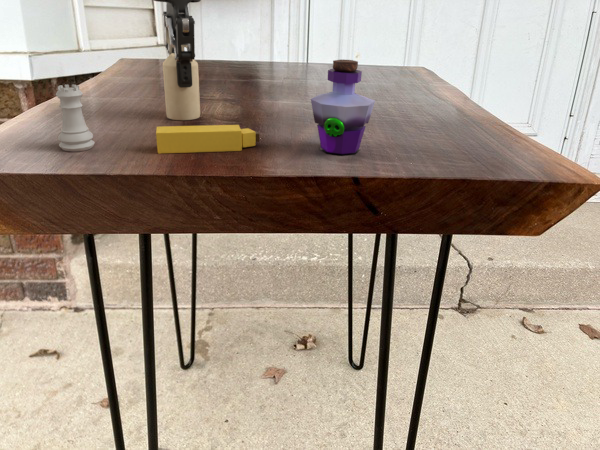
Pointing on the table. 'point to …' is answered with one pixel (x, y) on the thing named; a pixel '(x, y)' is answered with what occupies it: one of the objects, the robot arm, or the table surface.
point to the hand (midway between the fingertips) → (181, 82)
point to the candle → (180, 92)
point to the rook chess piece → (73, 121)
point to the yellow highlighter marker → (204, 138)
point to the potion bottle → (342, 111)
